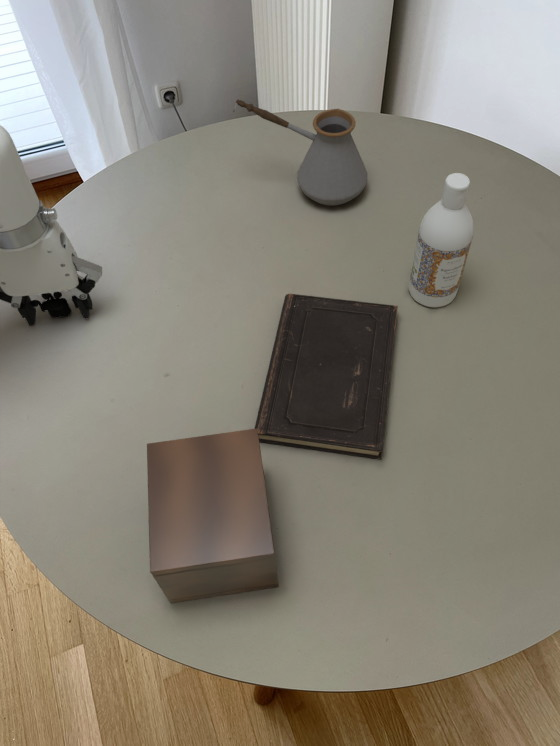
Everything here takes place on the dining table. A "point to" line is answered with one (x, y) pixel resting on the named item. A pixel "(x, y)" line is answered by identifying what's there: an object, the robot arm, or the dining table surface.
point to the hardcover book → (329, 376)
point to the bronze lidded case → (209, 516)
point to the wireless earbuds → (55, 304)
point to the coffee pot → (326, 156)
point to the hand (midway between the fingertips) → (59, 314)
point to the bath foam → (442, 246)
